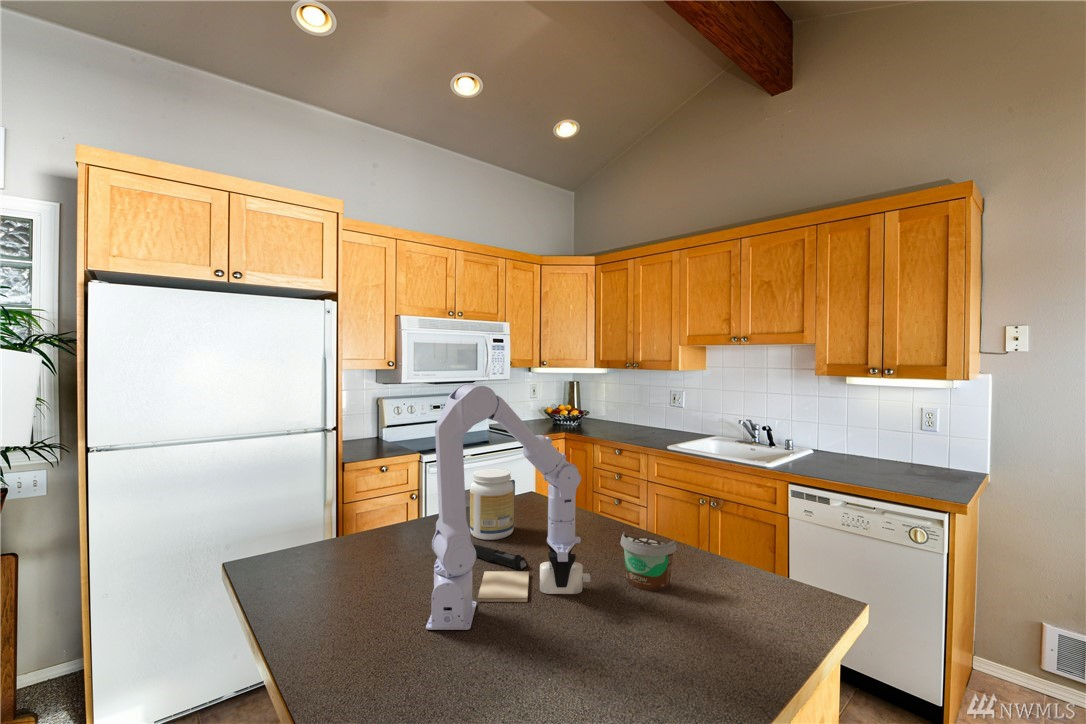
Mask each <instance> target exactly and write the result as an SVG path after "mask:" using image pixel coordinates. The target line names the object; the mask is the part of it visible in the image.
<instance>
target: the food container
mask: <svg viewBox="0 0 1086 724" xmlns="http://www.w3.org/2000/svg"><path fill="white" fill-rule="evenodd" d="M625 534H626V533H625V531H623V532H622V535H621V538H620V546H621V547H622V548H623V551H624V552H623V553H624V554H623V555H624V564H625V574H626V582H627V583H628V584H629V585H630V586H632V587H633V588H635V589H637V588H638V590H639V591H645V592H646V591H647V592H659V590H660V591H663V590H665V589H667V588H669V587H670V583H671V574H672V566H673V558H674V553H675V552H676V551H678V549H677V543H676V542H675V540H672V541H670V542H665V541H664V542H663V541H660V540H656V539H654V538H650V537H639V536H638V537H636V536H631V535H630V536H629V535H625Z"/></svg>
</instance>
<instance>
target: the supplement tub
mask: <svg viewBox="0 0 1086 724" xmlns="http://www.w3.org/2000/svg"><path fill="white" fill-rule="evenodd" d="M511 479H512V476H511V471H509V470H508V469H505V468H504V469H503V468H484V469H478V470H476V471H474V472H473V476H472V480H473V482H472V483H471V484H470V488H469V531H470V535H472V536H473V537H475V538H477V539H480V540H483V541H484V540H485V541H486V540H488V541H492V540H493V541H494V540H500V539H501V540H502V539H504V538H506V537H509V536H510V535H511V534H512V533H513V532H514V528H515V527H514V525H515V524H514V523H515V522H514V517H515V515H514V514H515V512H514V508H515V507H514V504H515V501H514V500H515V497H514V496H515V495H514V490H515V487H514V483H513V482H512V481H511Z"/></svg>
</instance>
